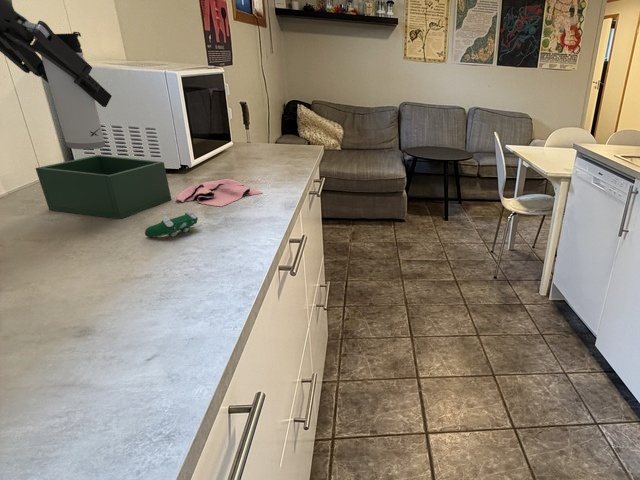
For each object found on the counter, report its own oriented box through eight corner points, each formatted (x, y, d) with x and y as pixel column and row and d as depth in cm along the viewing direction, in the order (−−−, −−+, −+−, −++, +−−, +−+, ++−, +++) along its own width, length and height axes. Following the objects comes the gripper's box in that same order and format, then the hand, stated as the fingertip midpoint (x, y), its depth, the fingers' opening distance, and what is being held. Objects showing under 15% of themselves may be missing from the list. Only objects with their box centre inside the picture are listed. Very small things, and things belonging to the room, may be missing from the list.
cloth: (237, 180, 134) (236, 172, 132) (274, 199, 120) (273, 189, 119) (158, 190, 120) (155, 180, 119) (189, 211, 107) (187, 201, 106)
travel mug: (108, 149, 92) (80, 32, 83) (66, 150, 89) (31, 28, 80) (107, 143, 97) (80, 31, 88) (67, 143, 93) (34, 28, 84)
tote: (49, 210, 102) (35, 168, 97) (108, 192, 116) (97, 154, 112) (120, 219, 100) (109, 176, 96) (171, 199, 114) (163, 161, 110)
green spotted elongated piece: (154, 248, 92) (167, 231, 89) (141, 232, 91) (153, 215, 88) (193, 234, 99) (205, 218, 96) (180, 220, 99) (193, 203, 96)
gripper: (-99, 3, 71) (42, 110, 93) (5, 11, 68) (126, 120, 89) (-72, -33, 73) (60, 79, 95) (29, -27, 70) (142, 88, 92)
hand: (92, 99), depth 92 cm, fingers closed on travel mug, 6 cm apart
